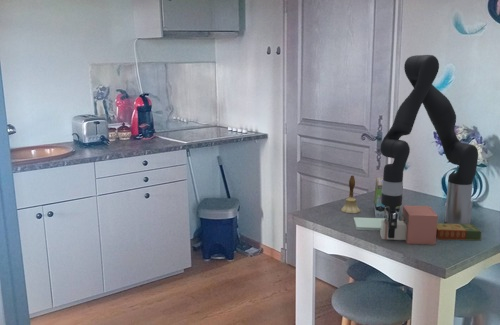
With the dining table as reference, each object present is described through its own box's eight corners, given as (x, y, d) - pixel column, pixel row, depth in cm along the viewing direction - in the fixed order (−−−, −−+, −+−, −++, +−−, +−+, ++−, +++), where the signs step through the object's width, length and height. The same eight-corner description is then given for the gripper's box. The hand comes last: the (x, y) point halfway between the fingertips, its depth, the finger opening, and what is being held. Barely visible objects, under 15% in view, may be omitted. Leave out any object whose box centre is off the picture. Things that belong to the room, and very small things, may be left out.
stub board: (397, 221, 209) (397, 218, 209) (403, 231, 198) (403, 228, 197) (353, 220, 211) (353, 217, 211) (356, 229, 199) (356, 227, 199)
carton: (430, 232, 198) (431, 222, 197) (472, 233, 197) (473, 223, 196) (437, 240, 190) (438, 229, 189) (480, 241, 189) (482, 230, 188)
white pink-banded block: (414, 236, 193) (416, 221, 192) (417, 240, 188) (418, 225, 187) (380, 235, 194) (381, 220, 193) (382, 239, 190) (383, 224, 188)
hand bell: (343, 207, 229) (344, 172, 226) (361, 209, 226) (363, 174, 223) (339, 212, 222) (340, 177, 218) (358, 214, 219) (360, 178, 215)
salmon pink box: (427, 233, 196) (429, 206, 194) (435, 244, 184) (437, 216, 182) (400, 232, 197) (402, 205, 195) (406, 243, 185) (408, 215, 183)
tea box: (399, 220, 211) (401, 186, 208) (374, 218, 213) (376, 184, 210) (396, 209, 226) (398, 177, 222) (373, 208, 228) (375, 176, 224)
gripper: (406, 197, 180) (403, 241, 184) (398, 187, 194) (396, 228, 198) (384, 197, 181) (382, 240, 185) (378, 186, 195) (376, 227, 199)
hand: (389, 234), depth 191 cm, fingers open, 7 cm apart
